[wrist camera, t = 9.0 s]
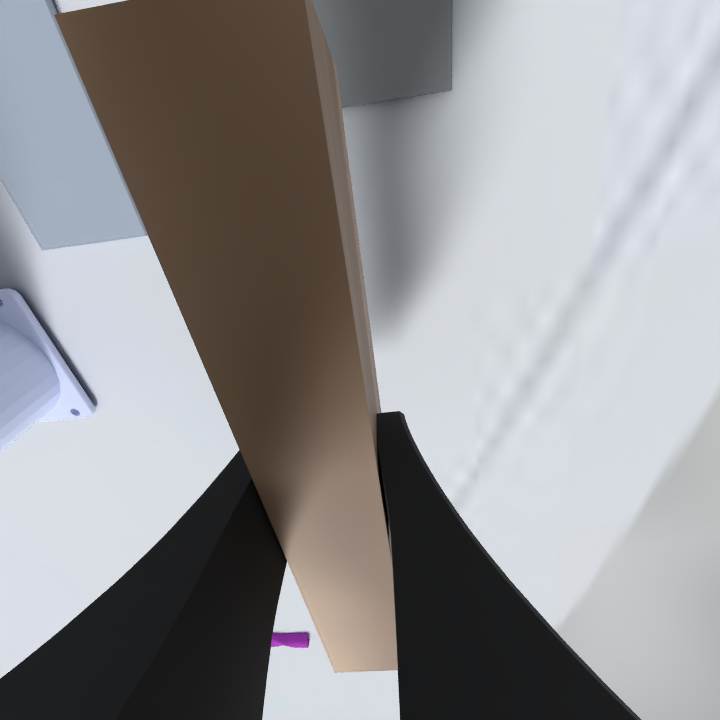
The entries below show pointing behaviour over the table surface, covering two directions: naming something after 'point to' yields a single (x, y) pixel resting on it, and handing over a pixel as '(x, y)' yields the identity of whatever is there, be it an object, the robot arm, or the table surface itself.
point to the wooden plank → (261, 270)
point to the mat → (388, 47)
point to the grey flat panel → (55, 138)
